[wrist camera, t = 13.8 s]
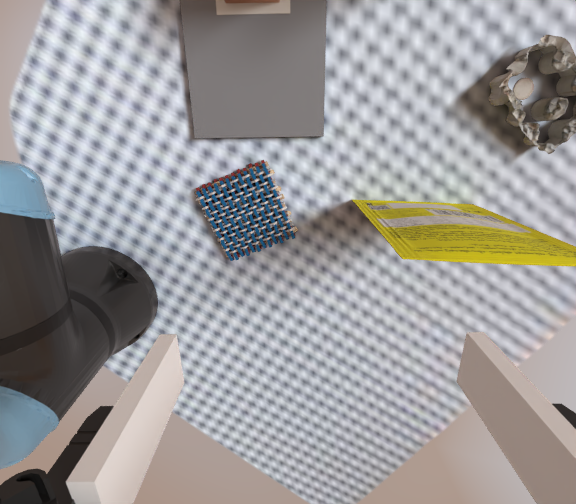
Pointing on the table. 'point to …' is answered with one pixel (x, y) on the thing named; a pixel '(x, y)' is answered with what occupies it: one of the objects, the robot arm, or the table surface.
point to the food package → (462, 234)
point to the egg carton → (571, 83)
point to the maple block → (251, 1)
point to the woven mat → (246, 210)
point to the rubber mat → (255, 67)
